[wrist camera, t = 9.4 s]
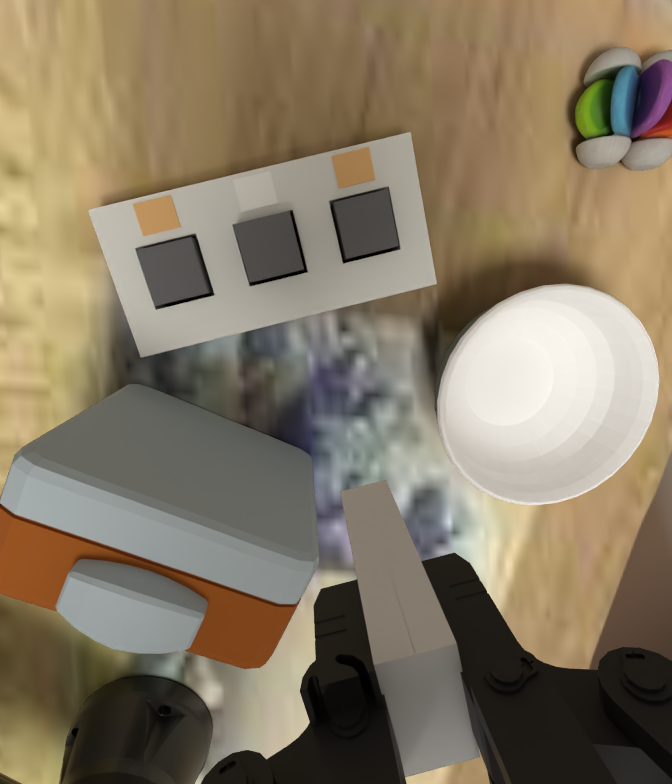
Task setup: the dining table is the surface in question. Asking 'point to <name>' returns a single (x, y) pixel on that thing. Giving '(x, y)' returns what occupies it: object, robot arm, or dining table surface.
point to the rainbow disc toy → (626, 111)
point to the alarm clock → (161, 528)
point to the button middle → (269, 246)
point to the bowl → (546, 394)
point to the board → (255, 200)
